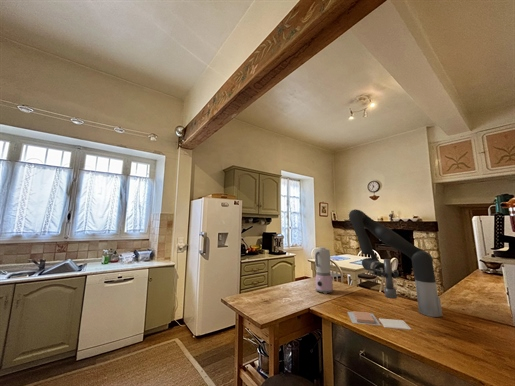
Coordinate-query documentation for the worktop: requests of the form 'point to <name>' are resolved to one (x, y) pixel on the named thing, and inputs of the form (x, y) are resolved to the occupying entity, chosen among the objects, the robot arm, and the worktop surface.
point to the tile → (363, 317)
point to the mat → (362, 323)
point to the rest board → (394, 324)
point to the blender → (323, 270)
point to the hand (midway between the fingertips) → (390, 276)
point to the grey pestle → (389, 281)
